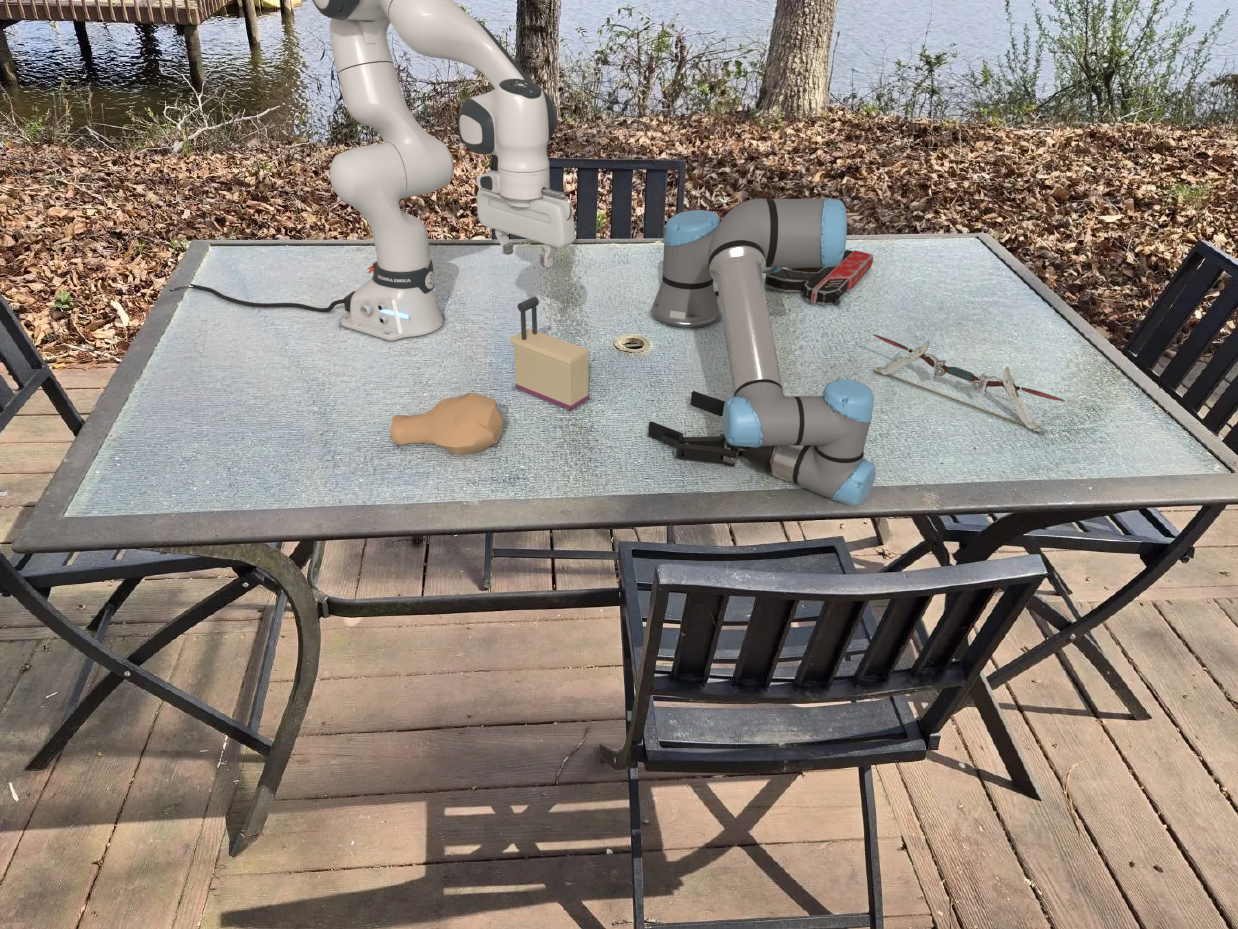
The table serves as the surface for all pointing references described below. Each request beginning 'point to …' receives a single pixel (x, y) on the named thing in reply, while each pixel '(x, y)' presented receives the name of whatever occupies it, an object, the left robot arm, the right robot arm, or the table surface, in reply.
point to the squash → (452, 425)
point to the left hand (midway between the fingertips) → (526, 259)
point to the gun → (823, 278)
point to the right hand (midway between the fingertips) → (671, 412)
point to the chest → (552, 378)
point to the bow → (978, 382)
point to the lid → (544, 338)
